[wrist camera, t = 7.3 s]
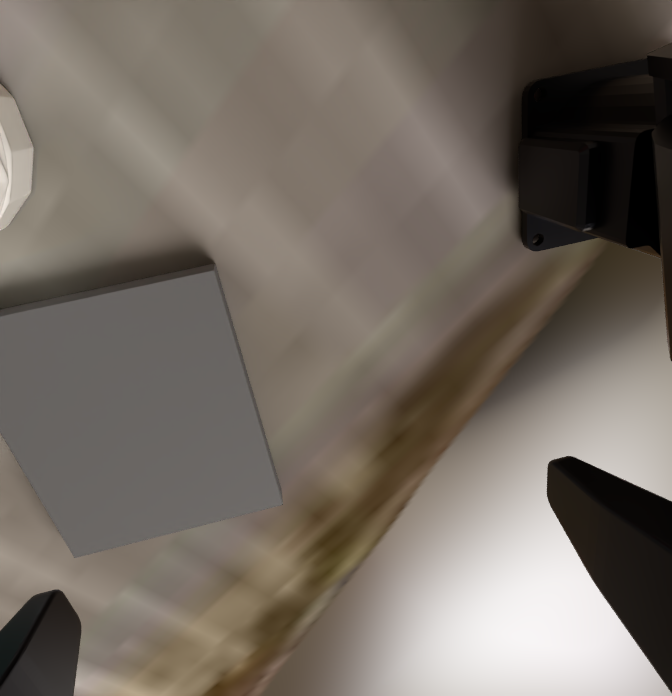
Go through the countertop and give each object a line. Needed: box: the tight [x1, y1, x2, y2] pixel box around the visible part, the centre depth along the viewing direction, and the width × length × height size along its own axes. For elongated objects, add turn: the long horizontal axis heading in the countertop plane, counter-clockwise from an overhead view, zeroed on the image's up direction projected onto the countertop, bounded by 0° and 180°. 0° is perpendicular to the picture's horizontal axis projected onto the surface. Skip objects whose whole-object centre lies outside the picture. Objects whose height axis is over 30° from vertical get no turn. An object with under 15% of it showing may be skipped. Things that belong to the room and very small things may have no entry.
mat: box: [0, 263, 283, 558], centre depth 21 cm, size 10×12×1 cm
